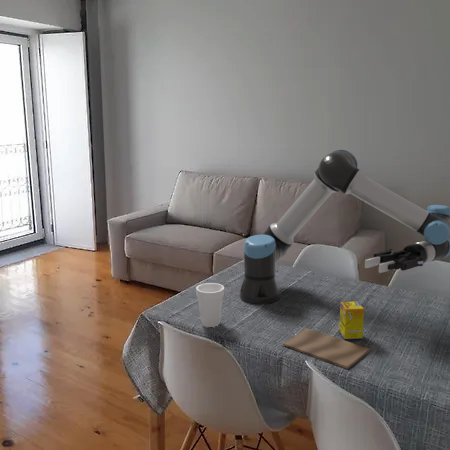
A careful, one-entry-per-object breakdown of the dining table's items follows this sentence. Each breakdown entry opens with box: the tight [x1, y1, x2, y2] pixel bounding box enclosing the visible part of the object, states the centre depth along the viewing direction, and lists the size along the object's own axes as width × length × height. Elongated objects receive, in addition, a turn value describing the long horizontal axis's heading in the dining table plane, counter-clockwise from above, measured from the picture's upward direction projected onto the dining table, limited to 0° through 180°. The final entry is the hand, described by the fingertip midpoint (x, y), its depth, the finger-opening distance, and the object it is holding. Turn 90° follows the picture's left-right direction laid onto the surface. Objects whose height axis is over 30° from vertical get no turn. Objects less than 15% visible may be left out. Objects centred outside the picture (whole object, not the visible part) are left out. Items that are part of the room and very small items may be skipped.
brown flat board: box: [282, 328, 371, 370], centre depth 155 cm, size 22×14×1 cm, turn 49°
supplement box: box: [338, 300, 365, 342], centre depth 162 cm, size 6×6×11 cm
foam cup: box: [195, 282, 225, 328], centre depth 172 cm, size 10×9×13 cm
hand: (372, 266), depth 162 cm, fingers open, 5 cm apart
